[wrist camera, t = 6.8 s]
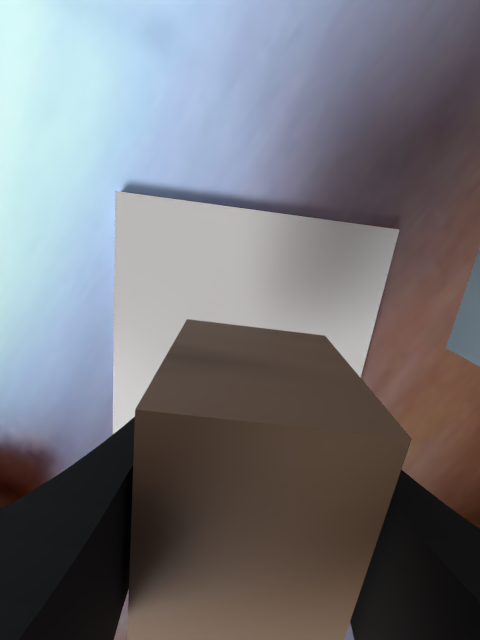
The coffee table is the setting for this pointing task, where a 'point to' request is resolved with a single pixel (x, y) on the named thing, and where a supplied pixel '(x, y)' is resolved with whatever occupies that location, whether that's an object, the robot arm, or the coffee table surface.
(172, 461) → the walnut brick
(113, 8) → the coffee table surface
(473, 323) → the slate-blue brick
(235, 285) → the baseplate
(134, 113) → the coffee table surface
